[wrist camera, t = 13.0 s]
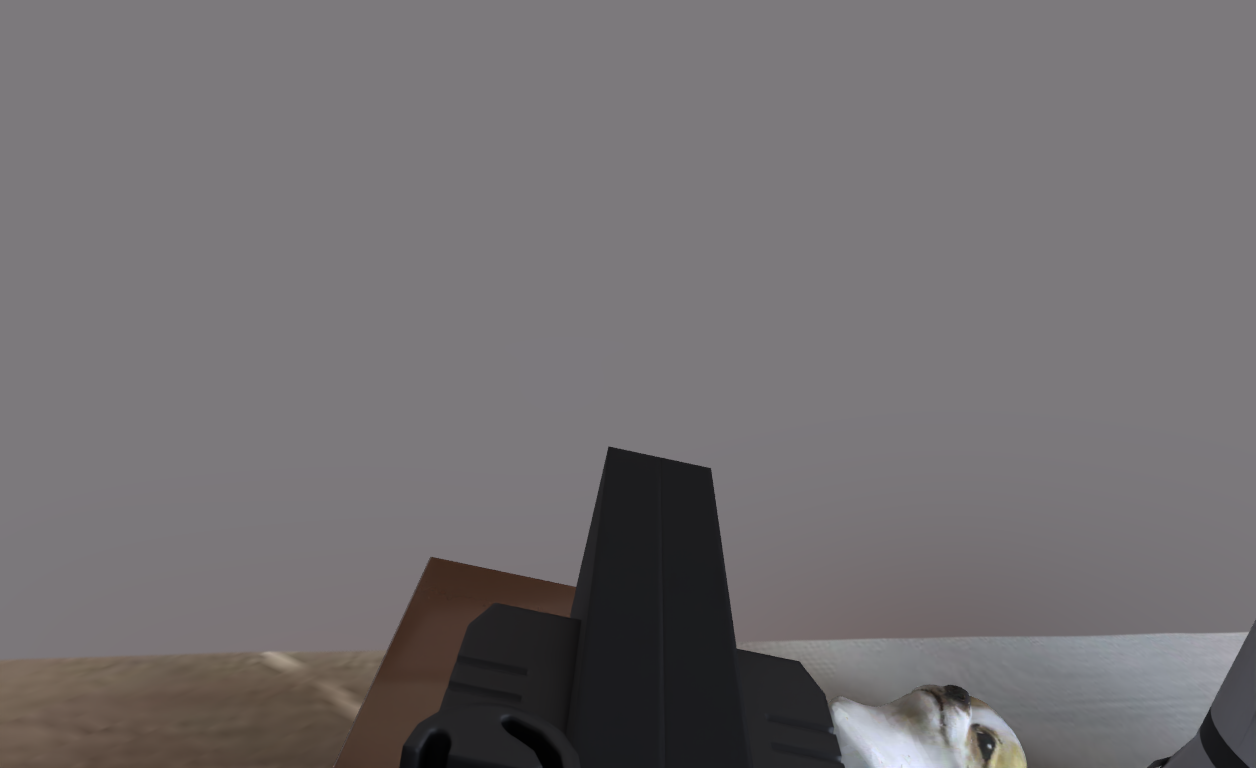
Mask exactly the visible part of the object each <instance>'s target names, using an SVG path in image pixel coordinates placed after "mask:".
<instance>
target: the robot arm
mask: <svg viewBox="0 0 1256 768" xmlns="http://www.w3.org/2000/svg"><path fill="white" fill-rule="evenodd" d="M833 731H834V725H833V722H832V718H831V714H830V711H829V707H828V704H827V700H826V696H825V693H824V692H823V691H822V690H821V688H820V687H819V686H818V685H817V683H816V682H815V681H814V679H813V678H812V677H811V676H810V674H809V673H808V672H807V671H806V669H805V668H804V667H803V665H802V664H801V663H800V662H799V661H795V660H790V659H785V658H780V657H775V656H770V655H765V654H760V653H755V652H751V651H746V650H741V649H737V648H736V641H735V635H734V628H733V620H732V613H731V607H730V599H729V592H728V586H727V578H726V572H725V564H724V558H723V551H722V543H721V536H720V529H719V522H718V515H717V508H716V501H715V494H714V487H713V480H712V472H711V468H707V467H702V466H698V465H693V464H688V463H683V462H679V461H674V460H669V459H665V458H660V457H655V456H650V455H646V454H641V453H637V452H632V451H627V450H622V449H617V448H613V447H608V451H607V456H606V460H605V464H604V469H603V474H602V478H601V482H600V487H599V491H598V495H597V500H596V504H595V508H594V512H593V517H592V522H591V526H590V530H589V535H588V539H587V543H586V547H585V552H584V556H583V560H582V565H581V569H580V574H579V578H578V582H577V587H576V591H575V595H574V600H573V604H572V608H571V614H570V618H569V617H564V616H559V615H554V614H549V613H544V612H540V611H535V610H530V609H525V608H520V607H515V606H510V605H505V604H501V603H496V602H495V603H494V604H492V605H491V606H490V607H489V608H488V609H486V610H485V611H484V612H483V613H481V614H480V615H479V616H478V617H477V618H475V619H474V620H473V621H472V622H471V623H469V624H468V626H467V629H466V632H465V635H464V638H463V641H462V644H461V647H460V650H459V653H458V656H457V660H456V662H455V665H454V668H453V671H452V674H451V676H450V679H449V683H448V687H447V688H446V691H445V694H444V697H443V700H442V703H441V706H440V709H439V711H438V712H436V713H435V714H433V715H431V716H430V717H428V718H426V719H425V720H423V721H421V722H420V723H418V724H417V726H416V727H415V729H414V730H413V731H412V733H411V734H410V736H409V737H408V739H407V740H406V742H405V743H404V744H403V748H402V754H401V759H400V765H399V768H845V766H844V763H841V758H842V755H841V751H840V747H839V744H838V740H837V736H836V734H833ZM1159 766H1161V767H1160V768H1256V620H1255V622H1254V624H1253V626H1252V628H1251V630H1250V632H1249V634H1248V636H1247V638H1246V639H1245V641H1244V643H1243V645H1242V647H1241V649H1240V651H1239V653H1238V655H1237V657H1236V659H1235V661H1234V663H1233V664H1232V666H1231V668H1230V670H1229V672H1228V674H1227V676H1226V678H1225V680H1224V682H1223V684H1222V686H1221V688H1220V689H1219V691H1218V693H1217V695H1216V697H1215V699H1214V701H1213V703H1212V705H1211V707H1210V709H1209V711H1208V713H1207V715H1206V717H1205V719H1204V721H1203V723H1202V725H1201V726H1200V728H1199V730H1198V732H1197V734H1196V736H1195V737H1194V738H1193V739H1192V740H1191V741H1189V742H1188V743H1187V744H1186V745H1185V746H1183V747H1182V748H1181V749H1180V750H1179V751H1177V752H1176V753H1175V754H1174V755H1173V756H1171V757H1167V758H1164V759H1160V760H1157V761H1154V762H1153V763H1152V764H1151V765H1150V766H1148V767H1147V768H1156V767H1159Z"/></svg>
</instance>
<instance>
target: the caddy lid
mask: <svg viewBox="0 0 1256 768" xmlns="http://www.w3.org/2000/svg"><path fill="white" fill-rule="evenodd" d="M575 591H576V587H573V586H568V585H564V584H559V583H554V582H549V581H544V580H540V579H535V578H530V577H525V576H520V575H516V574H510V573H506V572H501V571H496V570H492V569H486V568H482V567H477V566H472V565H468V564H463V563H458V562H453V561H449V560H444V559H439V558H434V557H430V559H429V561H428V563H427V566H426V568H425V570H424V572H423V574H422V576H421V578H420V580H419V583H418V585H417V587H416V589H415V591H414V593H413V596H412V598H411V600H410V602H409V604H408V606H407V608H406V611H405V613H404V615H403V617H402V619H401V621H400V624H399V626H398V628H397V630H396V632H395V634H394V636H393V639H392V641H391V643H390V645H389V647H388V649H387V652H386V654H385V656H384V658H383V660H382V662H381V665H380V667H379V669H378V671H377V673H376V675H375V677H374V680H373V682H372V684H371V686H370V688H369V690H368V693H367V695H366V697H365V699H364V701H363V703H362V705H361V708H360V710H359V712H358V714H357V716H356V718H355V721H354V723H353V725H352V727H351V729H350V731H349V734H348V736H347V738H346V740H345V742H344V744H343V746H342V749H341V751H340V753H339V755H338V757H337V759H336V762H335V764H334V766H333V768H399V765H400V759H401V754H402V748H403V744H404V743H405V742H406V740H407V739H408V737H409V736H410V734H411V733H412V731H413V730H414V729H415V727H416V726H417V724H418V723H420V722H421V721H423V720H425V719H426V718H428V717H430V716H431V715H433V714H435V713H436V712H438V711H439V709H440V706H441V703H442V700H443V697H444V694H445V691H446V688H447V687H448V683H449V679H450V676H451V674H452V671H453V668H454V665H455V662H456V660H457V656H458V653H459V650H460V647H461V644H462V641H463V638H464V635H465V632H466V629H467V626H468V624H469V623H471V622H472V621H473V620H474V619H475V618H477V617H478V616H479V615H480V614H481V613H483V612H484V611H485V610H486V609H488V608H489V607H490V606H491V605H492V604H494V603H495V602H496V603H501V604H505V605H510V606H515V607H520V608H525V609H530V610H535V611H540V612H544V613H549V614H554V615H559V616H564V617H569V618H570V614H571V608H572V604H573V600H574V595H575Z"/></svg>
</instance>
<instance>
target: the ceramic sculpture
mask: <svg viewBox="0 0 1256 768" xmlns="http://www.w3.org/2000/svg"><path fill="white" fill-rule="evenodd" d="M827 704H828V707H829V711H830V714H831V718H832V722H833V725H834V731H833V734H836V736H837V740H838V744H839V747H840V751H841V755H842V758H841V763H844V766H845V768H1027V762H1026V757H1025V754H1024V752H1023V749H1022V747H1021V744H1020V742H1019V740H1018V739H1017V737H1016V735H1015V734H1014V732H1013V731H1012V729H1011V728H1010V727H1009V726H1008V725H1007V724H1006V723H1005V721H1004V720H1003V719H1002V718H1001V717H1000V716H999V715H998V714H997V713H996V712H995V711H994V710H993V709H992V708H991V707H990V706H988V705H987V704H986V703H984V702H983V701H981V700H979V699H977V698H975V697H972V696H969V694H968V692H967V691H966V690H964V689H963V688H961V687H958V686H954V685H947V686H943V687H942V686H937V685H922V686H919V687H916V688H915V689H914V690H913V691H912V692H911V693H910V694H907V695H905V696H903V697H901V698H899V699H897V700H895V701H893V702H891V703H888V704H886V705H883V706H880V707H875V706H868V705H864V704H860V703H857V702H855V701H852V700H849V699H847V698H846V697H842V696H837V697H836V698H834V699H832V700H831V701H830V702H828V703H827Z"/></svg>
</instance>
